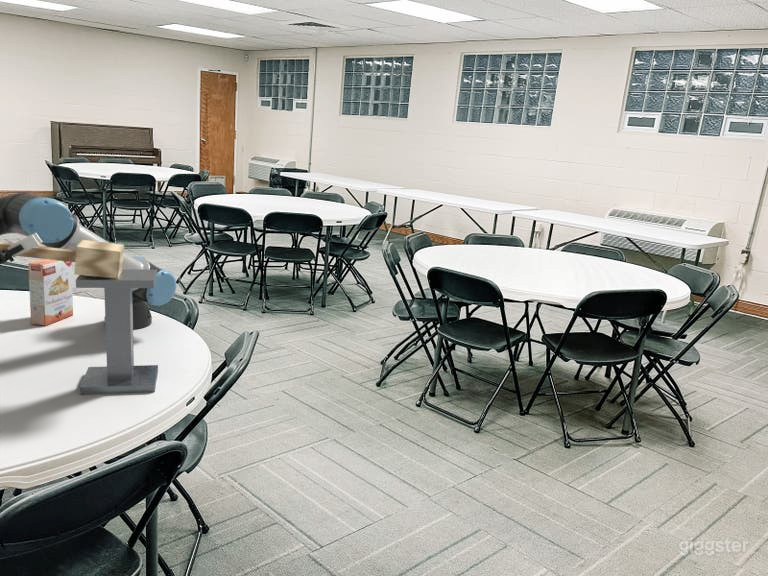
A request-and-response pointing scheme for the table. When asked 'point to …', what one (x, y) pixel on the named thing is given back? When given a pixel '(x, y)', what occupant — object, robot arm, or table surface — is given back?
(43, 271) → the cracker box
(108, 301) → the stand
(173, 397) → the table surface
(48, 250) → the mallet
